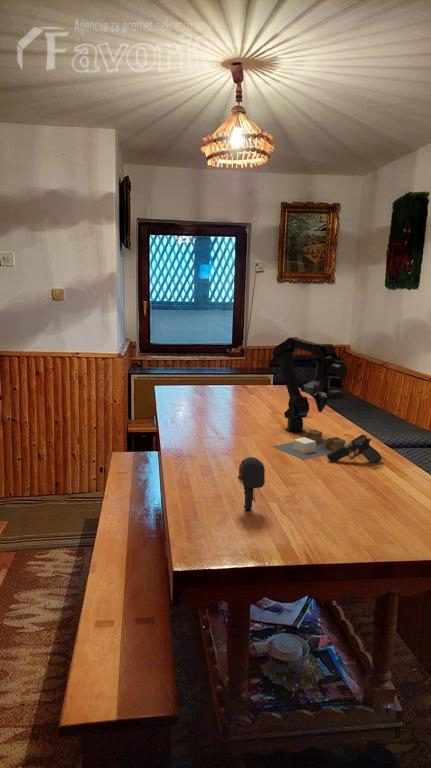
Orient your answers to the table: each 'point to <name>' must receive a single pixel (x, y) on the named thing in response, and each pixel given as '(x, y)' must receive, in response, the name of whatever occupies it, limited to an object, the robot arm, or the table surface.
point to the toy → (251, 478)
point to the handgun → (356, 444)
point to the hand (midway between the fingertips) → (320, 411)
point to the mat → (319, 451)
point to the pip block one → (314, 435)
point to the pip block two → (334, 443)
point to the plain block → (304, 445)
